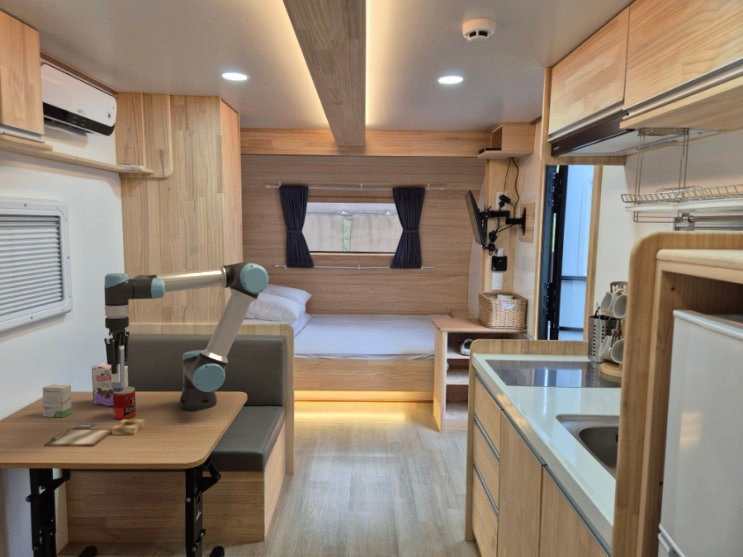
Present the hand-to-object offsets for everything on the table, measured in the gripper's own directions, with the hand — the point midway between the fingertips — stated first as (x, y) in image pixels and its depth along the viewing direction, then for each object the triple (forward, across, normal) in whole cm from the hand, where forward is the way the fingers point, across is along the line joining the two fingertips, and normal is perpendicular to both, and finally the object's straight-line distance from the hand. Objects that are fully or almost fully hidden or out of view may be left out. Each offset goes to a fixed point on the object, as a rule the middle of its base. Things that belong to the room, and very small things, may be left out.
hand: (118, 380), depth 171 cm
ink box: (+20, -16, -32) cm, 41 cm away
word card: (+19, -4, -15) cm, 25 cm away
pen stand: (+19, -1, +3) cm, 19 cm away
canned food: (+19, -14, -5) cm, 24 cm away
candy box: (+19, -29, -18) cm, 39 cm away
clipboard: (+19, +6, -11) cm, 23 cm away
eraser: (+4, 0, 0) cm, 4 cm away
